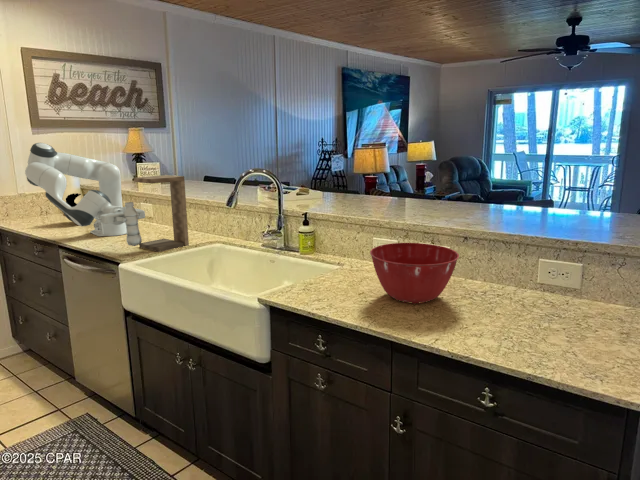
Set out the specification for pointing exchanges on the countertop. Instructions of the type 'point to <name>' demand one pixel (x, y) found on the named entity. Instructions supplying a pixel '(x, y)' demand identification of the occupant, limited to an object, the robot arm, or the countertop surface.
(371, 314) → the countertop surface
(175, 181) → the walnut shelf
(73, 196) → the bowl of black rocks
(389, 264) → the mixing bowl
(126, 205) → the plastic bottle
